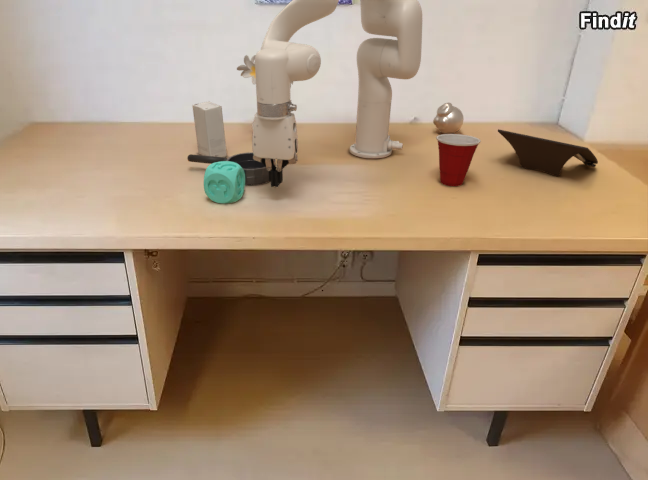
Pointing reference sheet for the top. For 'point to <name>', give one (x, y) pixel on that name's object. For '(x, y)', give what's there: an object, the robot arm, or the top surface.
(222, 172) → the decorative dice
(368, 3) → the robot arm
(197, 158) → the pan handle
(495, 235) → the top surface
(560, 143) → the laptop tray
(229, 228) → the top surface
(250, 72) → the flower vase
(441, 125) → the silver rounded lump
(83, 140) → the top surface
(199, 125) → the cosmetic box
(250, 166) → the pan
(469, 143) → the plastic cup
